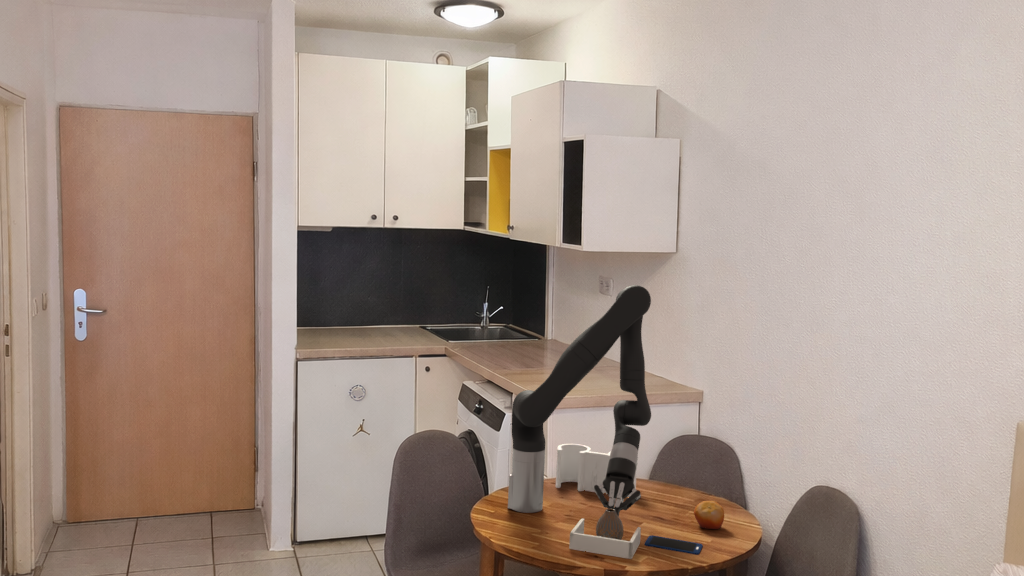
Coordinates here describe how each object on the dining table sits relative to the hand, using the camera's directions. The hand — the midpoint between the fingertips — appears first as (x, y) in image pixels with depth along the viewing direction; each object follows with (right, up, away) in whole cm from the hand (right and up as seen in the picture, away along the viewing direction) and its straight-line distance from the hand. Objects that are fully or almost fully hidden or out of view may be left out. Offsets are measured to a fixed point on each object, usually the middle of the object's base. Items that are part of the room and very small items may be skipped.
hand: (611, 522), depth 212 cm
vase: (-1, -5, -3) cm, 6 cm away
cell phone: (+15, -6, -2) cm, 17 cm away
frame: (-2, -5, -5) cm, 7 cm away
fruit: (+28, -5, +12) cm, 31 cm away
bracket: (0, -2, +43) cm, 43 cm away
